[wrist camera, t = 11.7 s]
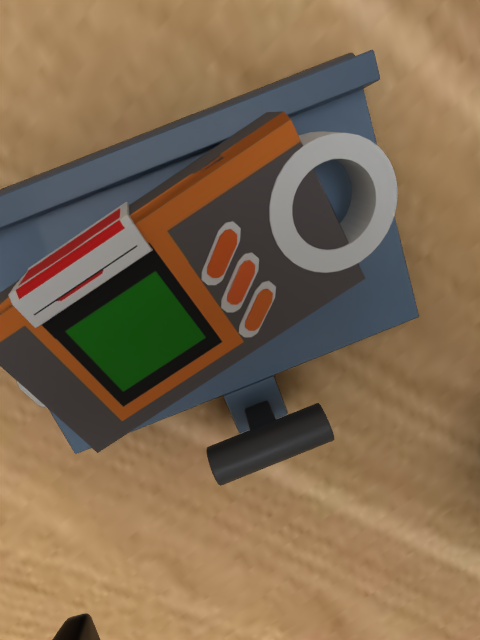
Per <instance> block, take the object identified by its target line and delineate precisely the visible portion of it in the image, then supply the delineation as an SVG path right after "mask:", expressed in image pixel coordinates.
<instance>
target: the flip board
mask: <svg viewBox="0 0 480 640" xmlns="http://www.w3.org/2000/svg"><path fill="white" fill-rule="evenodd" d="M379 79H380V76H379V71H378V67H377V63H376V58H375V54H374V51H373V50H370V51H368V52H365V53H362V54H360V55H357V56H355V55H354V54H353V53H348V54H346V55H343V56H341V57H338V58H335V59H333V60H330V61H328V62H325V63H323V64H320V65H318V66H315V67H312V68H310V69H307V70H305V71H302V72H300V73H297V74H295V75H292V76H289V77H287V78H284V79H282V80H279V81H277V82H274V83H272V84H269V85H266V86H264V87H261V88H259V89H256V90H254V91H251V92H249V93H246V94H243V95H241V96H238V97H236V98H233V99H231V100H228V101H225V102H223V103H220V104H218V105H215V106H213V107H210V108H208V109H205V110H202V111H200V112H197V113H195V114H192V115H190V116H187V117H185V118H182V119H179V120H177V121H174V122H172V123H169V124H167V125H164V126H162V127H159V128H156V129H154V130H151V131H149V132H146V133H144V134H141V135H139V136H136V137H133V138H131V139H128V140H126V141H123V142H121V143H118V144H116V145H113V146H110V147H108V148H105V149H103V150H100V151H98V152H95V153H93V154H90V155H87V156H85V157H82V158H80V159H77V160H75V161H72V162H70V163H67V164H64V165H62V166H59V167H57V168H54V169H52V170H49V171H47V172H44V173H41V174H39V175H36V176H34V177H31V178H29V179H26V180H24V181H21V182H18V183H16V184H13V185H11V186H8V187H6V188H3V189H1V190H0V292H2V291H3V290H5V289H6V288H8V287H9V286H11V285H12V284H13V283H15V282H16V281H18V280H19V279H21V278H22V277H23V276H24V274H25V273H26V272H27V271H28V268H29V267H31V266H32V265H34V264H35V263H37V262H38V261H40V260H41V259H43V258H44V257H45V256H47V255H48V254H50V253H51V252H53V251H54V250H56V249H57V248H59V247H60V246H62V245H63V244H65V243H66V242H68V241H69V240H70V239H72V238H73V237H75V236H76V235H78V234H79V233H81V232H82V231H84V230H85V229H87V228H88V227H90V226H91V225H93V224H94V223H96V222H97V221H98V220H100V219H101V218H103V217H104V216H106V215H107V214H109V213H110V212H112V211H113V210H115V209H116V208H118V207H119V206H121V205H122V204H124V203H125V202H128V203H129V205H130V204H132V203H133V202H135V201H136V200H138V199H139V198H141V197H142V196H144V195H145V194H147V193H148V192H150V191H151V190H152V189H154V188H155V187H157V186H158V185H160V184H161V183H163V182H164V181H166V180H167V179H169V178H170V177H172V176H173V175H175V174H176V173H178V172H179V171H181V170H182V169H184V168H185V167H186V166H188V165H189V164H191V163H192V162H194V161H195V160H197V159H198V158H200V157H201V156H203V155H204V154H206V153H207V152H209V151H210V150H212V149H213V148H215V147H216V146H218V145H219V144H220V143H222V142H223V141H225V140H226V139H228V138H229V137H231V136H232V135H234V134H235V133H237V132H238V131H240V130H241V129H243V128H244V127H246V126H247V125H249V124H250V123H252V122H253V121H254V120H256V119H257V118H259V117H260V116H262V115H263V114H265V113H266V112H280V111H284V112H285V113H286V114H287V116H288V117H289V118H290V119H291V121H292V123H293V125H294V127H295V129H296V132H297V134H298V136H299V135H303V134H306V133H309V132H321V131H325V132H341V133H350V134H355V135H359V136H362V137H364V138H366V139H369V140H370V141H372V142H373V143H374V144H376V145H377V143H376V139H375V135H374V131H373V127H372V123H371V118H370V114H369V110H368V106H367V102H366V98H365V94H364V90H363V89H364V88H366V87H367V86H369V85H371V84H373V83H375V82H376V81H378V80H379ZM314 170H315V172H316V174H317V176H318V178H319V180H320V183H321V185H322V187H323V189H324V191H325V193H326V195H327V197H328V200H329V202H330V204H331V206H332V208H333V210H334V212H335V214H336V217H337V219H338V221H339V223H340V222H341V221H342V220H343V219H344V217H345V215H346V214H347V212H348V209H349V207H350V203H351V199H352V185H351V180H350V177H349V174H348V172H347V171H346V169H345V168H344V166H343V165H342V164H341V163H340V162H338V161H337V160H336V159H331V160H328V161H325V162H323V163H321V164H319V165H317V166H315V167H314ZM359 266H360V268H361V270H362V272H363V274H364V276H365V279H364V280H362V281H361V282H359V283H358V284H356V285H355V286H353V287H352V288H350V289H348V290H347V291H345V292H344V293H342V294H341V295H339V296H338V297H336V298H335V299H333V300H332V301H330V302H329V303H327V304H325V305H324V306H322V307H321V308H319V309H318V310H316V311H315V312H313V313H312V314H310V315H309V316H307V317H305V318H304V319H302V320H301V321H299V322H298V323H296V324H295V325H293V326H292V327H290V328H289V329H287V330H286V331H284V332H282V333H281V334H279V335H278V336H276V337H275V338H273V339H272V340H270V341H269V342H267V343H266V344H264V345H262V346H261V347H259V348H258V349H256V350H255V351H253V352H252V353H250V354H249V355H247V356H246V357H244V358H243V359H241V360H239V361H238V362H236V363H235V364H233V365H232V366H230V367H229V368H227V369H226V370H224V371H223V372H221V373H219V374H218V375H216V376H215V377H213V378H212V379H210V380H209V381H207V382H206V383H204V384H203V385H201V386H200V387H198V388H196V389H195V390H193V391H192V392H190V393H189V394H187V395H186V396H184V397H183V398H181V399H180V400H178V401H177V402H175V403H173V404H172V405H170V406H169V407H167V408H166V409H164V410H163V411H161V412H160V413H158V414H157V415H155V416H153V417H152V418H150V419H149V420H147V421H146V422H144V423H143V424H141V425H140V426H138V427H137V428H135V429H134V430H137V429H139V428H142V427H144V426H147V425H149V424H152V423H154V422H157V421H159V420H162V419H165V418H167V417H170V416H172V415H175V414H177V413H180V412H182V411H185V410H187V409H190V408H192V407H195V406H197V405H200V404H202V403H205V402H207V401H210V400H212V399H215V398H217V397H220V396H222V395H223V397H224V399H225V401H226V404H227V406H228V408H229V411H230V413H231V415H232V417H233V420H234V422H235V424H236V427H237V429H238V431H239V432H240V433H242V432H244V433H242V434H239V435H237V436H234V437H232V438H229V439H227V440H224V441H222V442H219V443H217V444H214V445H212V446H209V447H207V457H208V461H209V464H210V467H211V470H212V473H213V475H214V477H215V480H216V481H217V483H218V484H219V485H224V484H226V483H229V482H231V481H234V480H236V479H239V478H241V477H243V476H246V475H248V474H251V473H253V472H256V471H258V470H261V469H263V468H266V467H268V466H271V465H273V464H276V463H278V462H281V461H283V460H286V459H288V458H291V457H293V456H296V455H298V454H301V453H303V452H306V451H308V450H311V449H313V448H316V447H318V446H321V445H323V444H326V443H328V442H331V441H333V440H334V435H333V432H332V429H331V426H330V424H329V421H328V419H327V417H326V415H325V413H324V411H323V409H322V407H321V405H320V404H319V403H317V404H314V405H312V406H309V407H307V408H304V409H302V410H299V411H297V412H294V413H292V414H289V415H287V413H288V412H287V409H286V407H285V404H284V402H283V399H282V396H281V394H280V391H279V389H278V386H277V383H276V381H275V378H274V376H273V375H275V374H277V373H280V372H282V371H285V370H287V369H290V368H292V367H295V366H297V365H300V364H302V363H305V362H307V361H310V360H312V359H315V358H317V357H320V356H322V355H325V354H327V353H330V352H332V351H335V350H337V349H340V348H342V347H345V346H347V345H350V344H352V343H355V342H357V341H360V340H362V339H365V338H367V337H370V336H372V335H375V334H377V333H380V332H382V331H385V330H387V329H390V328H392V327H395V326H397V325H400V324H402V323H405V322H407V321H410V320H412V319H415V318H417V317H419V315H418V311H417V306H416V302H415V298H414V294H413V290H412V286H411V282H410V278H409V274H408V270H407V266H406V262H405V257H404V253H403V249H402V245H401V241H400V237H399V233H398V229H397V225H396V221H395V217H394V218H393V221H392V223H391V225H390V228H389V230H388V232H387V234H386V235H385V237H384V238H383V240H382V241H381V243H380V244H379V245H378V246H377V247H376V248H375V250H374V251H373V252H372V253H371V254H370V255H368V256H367V257H366V258H364V259H363V260H362V261H361V262H359ZM49 411H50V410H49ZM50 412H51V411H50ZM51 414H52V416H53V417H54V419H55V421H56V422H57V424H58V426H59V427H60V429H61V431H62V432H63V434H64V436H65V437H66V439H67V441H68V443H69V444H70V446H71V448H72V449H73V451H74V453H75V454H77V453H79V452H82V451H84V450H87V449H89V448H92V447H91V446H89V445H88V444H87V443H86V442H85V441H84V440H83V439H82V438H80V437H79V436H78V435H77V434H76V433H75V432H74V431H73V430H72V429H70V428H69V427H68V426H67V425H66V424H65V423H64V422H63V421H61V420H60V419H59V418H58V417H57V416H56V415H55V414H54V413H53V412H51ZM285 415H287V416H285ZM282 416H284V417H282ZM280 417H282V418H280ZM277 418H279V419H277ZM276 419H277V420H276ZM134 430H132V431H134ZM247 430H249V431H247ZM132 431H130V432H132ZM245 431H247V432H245Z"/></svg>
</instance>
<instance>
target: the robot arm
mask: <svg viewBox="0 0 480 640" xmlns="http://www.w3.org/2000/svg"><path fill="white" fill-rule="evenodd" d="M53 640H100V638H99V635H98V633H97V630H96V628H95V625H94V623H93V620H92V618H91V616H90V615H89V614H81V615H77V616H73V617H70V618H68V619H67V620H66V621H65V622H64V624H63V625H62V627H61V628H60V630H59V631H58V632H57V634H56V635H55V637H54V638H53Z"/></svg>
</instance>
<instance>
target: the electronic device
mask: <svg viewBox="0 0 480 640" xmlns="http://www.w3.org/2000/svg"><path fill="white" fill-rule="evenodd" d="M331 159H336V160H337V161H338V162H340V163H341V164H342V165H343V166H344V168H345V169H346V171H347V172H348V174H349V177H350V180H351V185H352V199H351V203H350V207H349V209H348V212H347V214H346V215H345V217H344V219H343V220H342V221H341V222H340V223H339V221H338V219H337V217H336V214H335V212H334V210H333V208H332V206H331V204H330V202H329V200H328V197H327V195H326V193H325V191H324V189H323V187H322V185H321V183H320V180H319V178H318V176H317V174H316V172H315V170H314V167H315V166H317V165H319V164H321V163H323V162H325V161H328V160H331ZM397 196H398V192H397V180H396V177H395V173H394V169H393V167H392V165H391V163H390V161H389V159H388V157H387V156H386V155H385V153H384V152H383V151H382V150H381V149H380V147H378V146H377V145H376V144H374V143H373V142H372V141H370V140H369V139H366V138H364V137H362V136H359V135H355V134H350V133H341V132H325V131H321V132H309V133H306V134H303V135H299V136H298V134H297V132H296V129H295V127H294V125H293V123H292V121H291V119H290V118H289V117H288V116H287V114H286V113H285V112H284V111H280V112H266V113H265V114H263V115H262V116H260V117H259V118H257V119H256V120H254V121H253V122H252V123H250V124H249V125H247V126H246V127H244V128H243V129H241V130H240V131H238V132H237V133H235V134H234V135H232V136H231V137H229V138H228V139H226V140H225V141H223V142H222V143H220V144H219V145H218V146H216V147H215V148H213V149H212V150H210V151H209V152H207V153H206V154H204V155H203V156H201V157H200V158H198V159H197V160H195V161H194V162H192V163H191V164H189V165H188V166H186V167H185V168H184V169H182V170H181V171H179V172H178V173H176V174H175V175H173V176H172V177H170V178H169V179H167V180H166V181H164V182H163V183H161V184H160V185H158V186H157V187H155V188H154V189H152V190H151V191H150V192H148V193H147V194H145V195H144V196H142V197H141V198H139V199H138V200H136V201H135V202H133V203H132V204H130V205H129V203H128V202H125V203H124V204H122V205H121V206H119V207H118V208H116V209H115V210H113V211H112V212H110V213H109V214H107V215H106V216H104V217H103V218H101V219H100V220H98V221H97V222H96V223H94V224H93V225H91V226H90V227H88V228H87V229H85V230H84V231H82V232H81V233H79V234H78V235H76V236H75V237H73V238H72V239H70V240H69V241H68V242H66V243H65V244H63V245H62V246H60V247H59V248H57V249H56V250H54V251H53V252H51V253H50V254H48V255H47V256H45V257H44V258H43V259H41V260H40V261H38V262H37V263H35V264H34V265H32V266H31V267H29V268H28V271H27V272H26V273H25V274H24V276H23V277H22V278H21V279H19V280H18V281H16V282H15V283H13V284H12V285H11V286H9V287H8V288H6V289H5V290H3V291H2V292H0V366H1V367H2V368H3V369H4V370H6V371H7V372H8V373H9V374H10V375H11V376H12V377H13V378H14V379H16V381H17V384H18V386H19V388H20V389H21V390H22V391H23V392H24V393H25V394H27V395H28V396H29V397H30V398H31V399H32V400H33V401H34V402H36V403H37V404H38V405H39V406H41V407H47V408H48V409H49V410H50V411H51V412H53V413H54V414H55V415H56V416H57V417H58V418H59V419H60V420H61V421H63V422H64V423H65V424H66V425H67V426H68V427H69V428H70V429H72V430H73V431H74V432H75V433H76V434H77V435H78V436H79V437H80V438H82V439H83V440H84V441H85V442H86V443H87V444H88V445H89V446H91V447H92V448H93V449H94V450H95V451H96V452H97V453H98V452H100V451H101V450H103V449H104V448H106V447H107V446H109V445H110V444H112V443H114V442H115V441H117V440H118V439H120V438H121V437H123V436H124V435H126V434H127V433H129V432H130V431H132V430H134V429H135V428H137V427H138V426H140V425H141V424H143V423H144V422H146V421H147V420H149V419H150V418H152V417H153V416H155V415H157V414H158V413H160V412H161V411H163V410H164V409H166V408H167V407H169V406H170V405H172V404H173V403H175V402H177V401H178V400H180V399H181V398H183V397H184V396H186V395H187V394H189V393H190V392H192V391H193V390H195V389H196V388H198V387H200V386H201V385H203V384H204V383H206V382H207V381H209V380H210V379H212V378H213V377H215V376H216V375H218V374H219V373H221V372H223V371H224V370H226V369H227V368H229V367H230V366H232V365H233V364H235V363H236V362H238V361H239V360H241V359H243V358H244V357H246V356H247V355H249V354H250V353H252V352H253V351H255V350H256V349H258V348H259V347H261V346H262V345H264V344H266V343H267V342H269V341H270V340H272V339H273V338H275V337H276V336H278V335H279V334H281V333H282V332H284V331H286V330H287V329H289V328H290V327H292V326H293V325H295V324H296V323H298V322H299V321H301V320H302V319H304V318H305V317H307V316H309V315H310V314H312V313H313V312H315V311H316V310H318V309H319V308H321V307H322V306H324V305H325V304H327V303H329V302H330V301H332V300H333V299H335V298H336V297H338V296H339V295H341V294H342V293H344V292H345V291H347V290H348V289H350V288H352V287H353V286H355V285H356V284H358V283H359V282H361V281H362V280H364V279H365V276H364V274H363V272H362V270H361V268H360V266H359V262H361V261H362V260H363V259H364V258H366V257H367V256H368V255H370V254H371V253H372V252H373V251H374V250H375V248H376V247H377V246H378V245H379V244H380V243H381V241H382V240H383V238H384V237H385V235H386V234H387V232H388V230H389V228H390V225H391V223H392V221H393V218H394V214H395V211H396V205H397Z"/></svg>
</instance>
